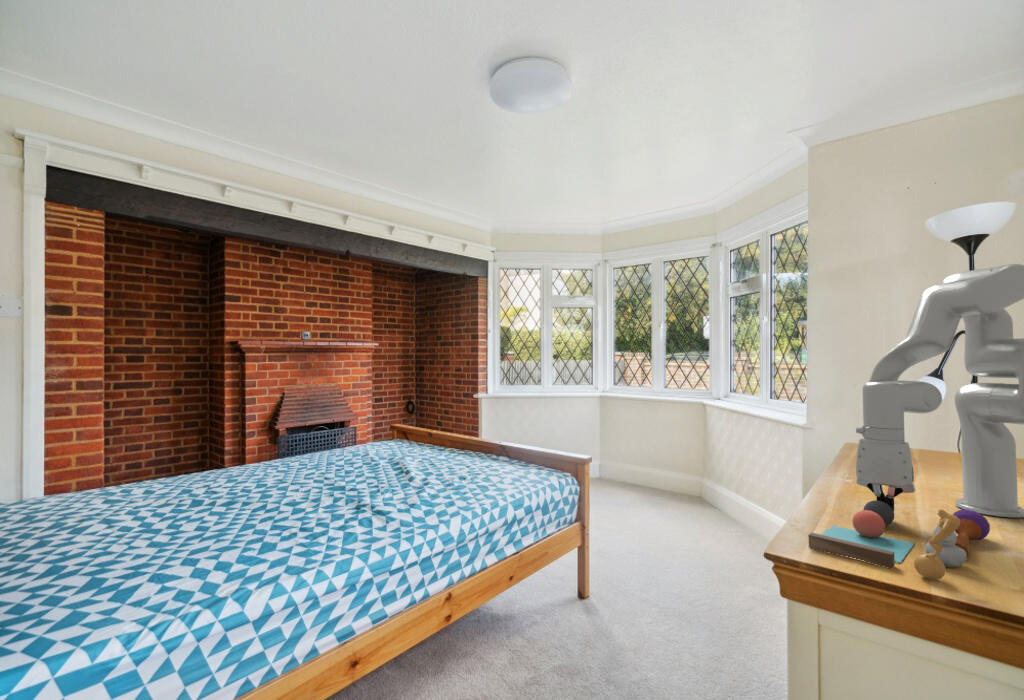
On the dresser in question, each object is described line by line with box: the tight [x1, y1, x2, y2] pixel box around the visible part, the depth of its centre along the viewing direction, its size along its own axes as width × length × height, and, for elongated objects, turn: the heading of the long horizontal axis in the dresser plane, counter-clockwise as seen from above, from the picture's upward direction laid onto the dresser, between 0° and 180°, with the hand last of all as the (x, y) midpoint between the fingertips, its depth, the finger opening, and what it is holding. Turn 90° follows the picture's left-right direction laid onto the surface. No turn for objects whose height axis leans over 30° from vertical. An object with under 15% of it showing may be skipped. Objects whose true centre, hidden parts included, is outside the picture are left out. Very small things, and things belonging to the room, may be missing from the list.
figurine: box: [913, 508, 960, 581], centre depth 78 cm, size 8×6×12 cm
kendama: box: [952, 509, 991, 560], centre depth 94 cm, size 6×6×20 cm
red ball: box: [851, 509, 886, 538], centre depth 98 cm, size 6×6×6 cm
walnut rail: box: [807, 532, 896, 569], centre depth 88 cm, size 2×13×2 cm, turn 41°
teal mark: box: [821, 525, 915, 564], centre depth 95 cm, size 14×14×1 cm
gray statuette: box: [924, 523, 967, 568], centre depth 85 cm, size 5×7×8 cm
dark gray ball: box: [863, 499, 895, 527], centre depth 105 cm, size 6×6×6 cm
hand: (885, 513), depth 109 cm, fingers closed
